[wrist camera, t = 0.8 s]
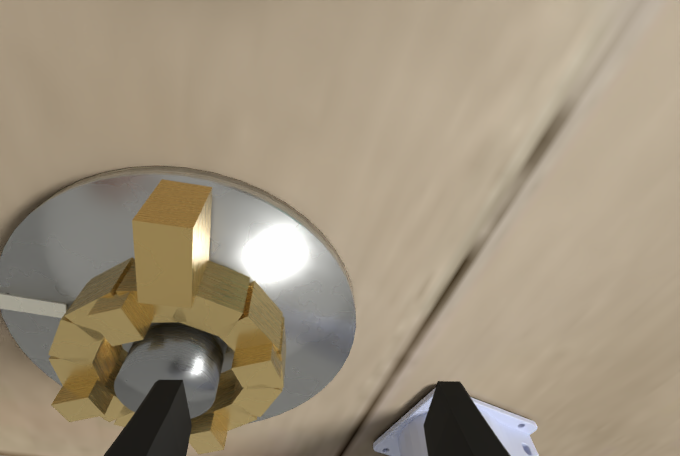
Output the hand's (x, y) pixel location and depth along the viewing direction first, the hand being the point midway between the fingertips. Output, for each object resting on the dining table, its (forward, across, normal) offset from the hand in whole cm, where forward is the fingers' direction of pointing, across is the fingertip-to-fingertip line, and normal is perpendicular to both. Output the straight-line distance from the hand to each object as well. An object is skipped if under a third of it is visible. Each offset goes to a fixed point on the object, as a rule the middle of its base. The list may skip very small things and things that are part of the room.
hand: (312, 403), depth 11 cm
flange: (+10, +6, +7) cm, 14 cm away
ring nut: (+8, +5, +5) cm, 11 cm away
